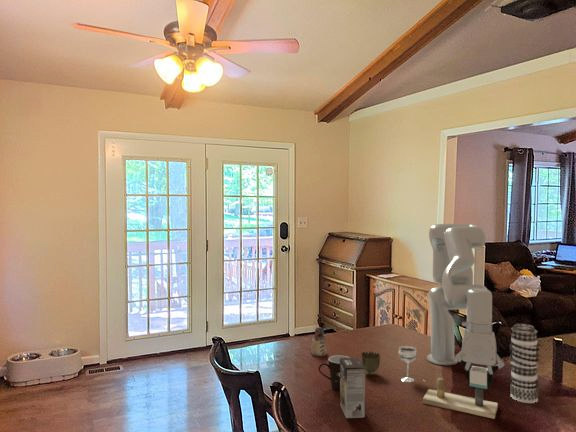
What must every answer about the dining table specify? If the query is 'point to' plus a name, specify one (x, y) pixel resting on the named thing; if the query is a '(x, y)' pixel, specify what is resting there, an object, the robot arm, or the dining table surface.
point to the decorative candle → (524, 363)
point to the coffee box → (352, 387)
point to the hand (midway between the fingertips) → (479, 382)
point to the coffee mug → (334, 370)
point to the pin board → (460, 401)
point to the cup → (370, 362)
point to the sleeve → (478, 377)
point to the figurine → (319, 343)
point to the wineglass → (407, 358)
